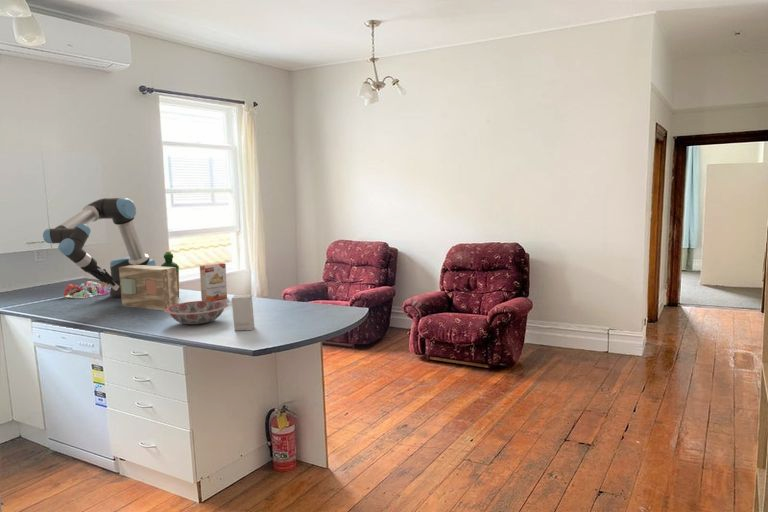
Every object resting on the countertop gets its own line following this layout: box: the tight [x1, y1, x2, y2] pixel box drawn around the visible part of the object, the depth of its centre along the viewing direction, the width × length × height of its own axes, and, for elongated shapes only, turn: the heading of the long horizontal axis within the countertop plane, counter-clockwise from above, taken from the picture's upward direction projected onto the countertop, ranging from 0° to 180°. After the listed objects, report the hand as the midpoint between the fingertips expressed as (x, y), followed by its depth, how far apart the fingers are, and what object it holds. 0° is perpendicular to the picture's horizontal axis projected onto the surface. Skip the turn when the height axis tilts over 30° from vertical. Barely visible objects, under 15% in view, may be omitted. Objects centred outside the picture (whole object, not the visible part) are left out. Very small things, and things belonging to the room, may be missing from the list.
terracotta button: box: [145, 279, 157, 295], centre depth 309 cm, size 3×8×8 cm, turn 62°
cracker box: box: [199, 262, 228, 301], centre depth 330 cm, size 14×6×21 cm, turn 141°
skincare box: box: [231, 294, 255, 331], centre depth 259 cm, size 8×7×16 cm
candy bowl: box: [63, 281, 110, 299], centre depth 357 cm, size 25×24×9 cm
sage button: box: [121, 278, 136, 294], centre depth 314 cm, size 3×8×8 cm, turn 62°
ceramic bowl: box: [164, 300, 229, 325], centre depth 275 cm, size 29×29×8 cm
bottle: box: [160, 250, 180, 298], centre depth 337 cm, size 11×11×28 cm
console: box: [119, 265, 180, 311], centre depth 316 cm, size 10×34×22 cm, turn 62°
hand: (117, 288), depth 307 cm, fingers closed
